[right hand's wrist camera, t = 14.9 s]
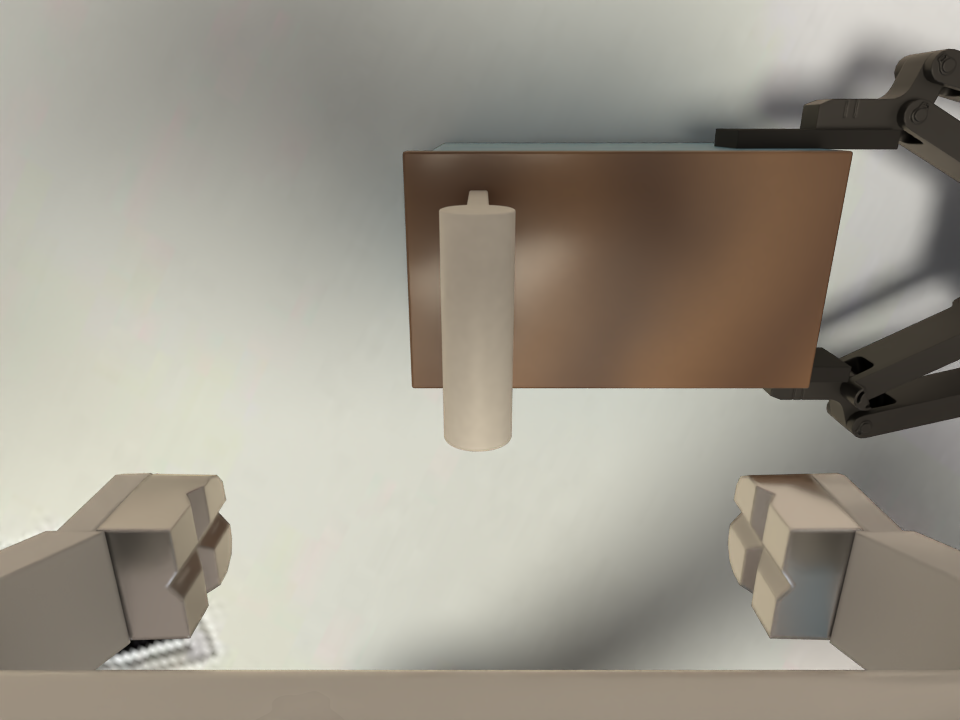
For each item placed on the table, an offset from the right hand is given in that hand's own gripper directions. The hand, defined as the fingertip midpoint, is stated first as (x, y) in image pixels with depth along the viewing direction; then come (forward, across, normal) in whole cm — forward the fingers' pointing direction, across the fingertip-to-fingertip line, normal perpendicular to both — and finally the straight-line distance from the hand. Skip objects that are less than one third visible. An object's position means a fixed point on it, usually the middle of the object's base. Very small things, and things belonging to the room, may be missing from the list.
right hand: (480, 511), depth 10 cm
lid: (+17, +6, 0) cm, 18 cm away
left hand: (+20, +10, 0) cm, 23 cm away
